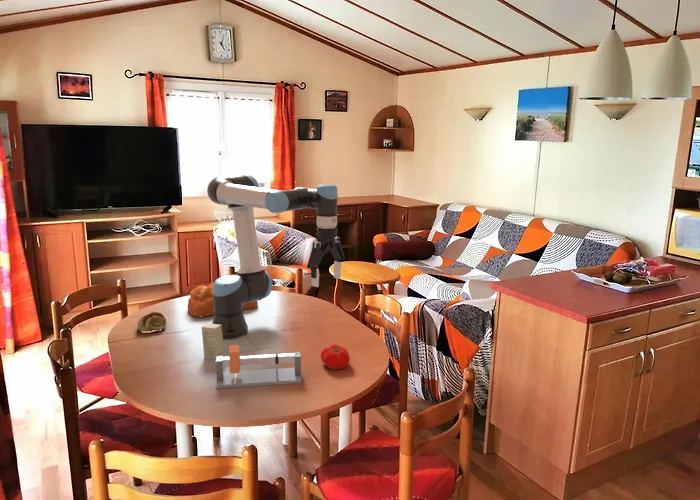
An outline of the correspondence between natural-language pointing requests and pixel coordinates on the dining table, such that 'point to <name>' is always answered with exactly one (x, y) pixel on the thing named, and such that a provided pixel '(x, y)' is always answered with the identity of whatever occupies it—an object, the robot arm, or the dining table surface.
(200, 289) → the bread
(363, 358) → the dining table surface
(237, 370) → the collar
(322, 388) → the dining table surface
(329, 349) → the tomato
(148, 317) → the pastry
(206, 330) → the skincare box
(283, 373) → the board
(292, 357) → the rail
